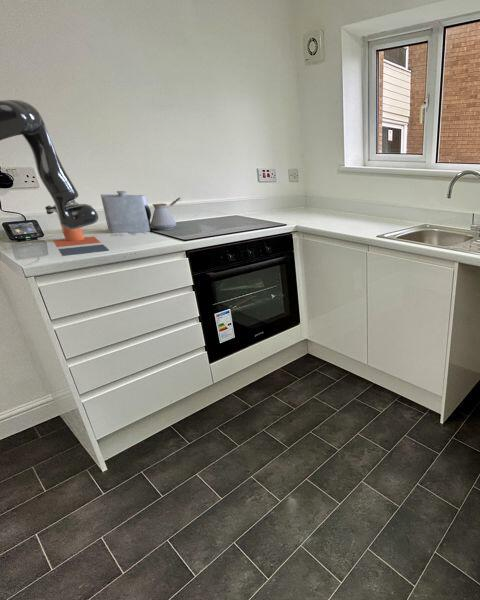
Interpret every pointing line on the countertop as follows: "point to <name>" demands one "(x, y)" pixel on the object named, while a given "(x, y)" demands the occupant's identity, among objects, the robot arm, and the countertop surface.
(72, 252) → the grey mat
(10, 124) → the robot arm
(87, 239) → the terracotta mat
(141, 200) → the hip flask
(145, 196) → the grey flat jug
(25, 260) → the countertop surface
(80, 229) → the terracotta bottle
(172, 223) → the coffee pot
